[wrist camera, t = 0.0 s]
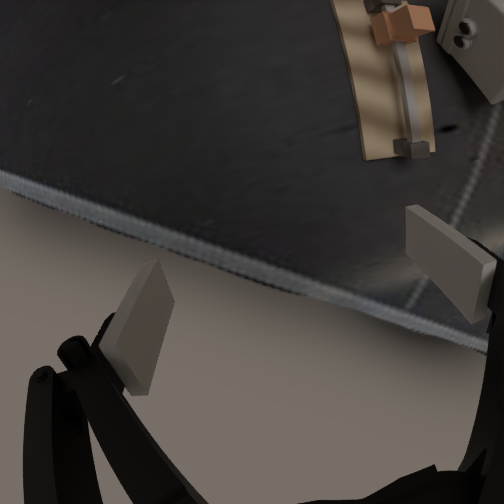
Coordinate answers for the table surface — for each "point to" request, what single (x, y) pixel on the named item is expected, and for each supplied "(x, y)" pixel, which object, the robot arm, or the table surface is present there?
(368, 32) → the rail board
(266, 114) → the table surface
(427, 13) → the brown stepped block
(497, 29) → the junction box
